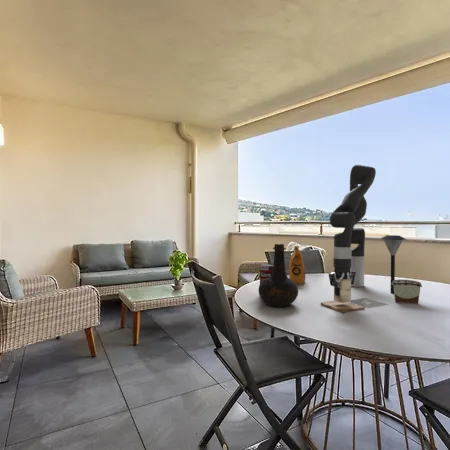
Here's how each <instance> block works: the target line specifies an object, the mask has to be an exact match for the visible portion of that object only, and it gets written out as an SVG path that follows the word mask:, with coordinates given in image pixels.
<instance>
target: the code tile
mask: <svg viewBox="0 0 450 450" xmlns="http://www.w3.org/2000/svg"><path fill="white" fill-rule="evenodd" d="M350 303H353V304H356V305H359V306H362V307H365V308H367V309H371V308H377V307H382V306H383V307H385V306H389V304H388V303H386V302H380V301H378V300H374V299H372V298H367V297H364V298H362V297H361V298H356V299H351V302H350Z"/></svg>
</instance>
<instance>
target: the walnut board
mask: <svg viewBox="0 0 450 450" xmlns="http://www.w3.org/2000/svg"><path fill="white" fill-rule="evenodd" d="M320 306H323V307H325V308H328V309H331V310H332V311H333V310H334V311H336V312H338V313H342V314H346V313H350V312H356V311H357V312H358V311H362V310H365V308H366V307H363V306H359V305H356V304H353V303H350V302H345V303H341V302H338V301H335V300H329V301H324V302H320Z"/></svg>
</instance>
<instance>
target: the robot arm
mask: <svg viewBox="0 0 450 450" xmlns="http://www.w3.org/2000/svg"><path fill="white" fill-rule="evenodd" d="M376 173H377V171H376V168H375V167H374V166H367V165H361V164H355V165H353V166H352V167H351V170H350V174H349V191H348V193H346V195H345V196H344V197H343V199H342V202H341V203H340V204H339V205H338V207H336V208H335V209H334V210H333V212H332V213H331V214H330V217H329V224H330V225H331V227H333V228H336V229H339V228H340V229H341V228H342V229H343V231H342V232H339V233H335V234H334V236H333V252H332V253H333V254H332V255H333V260H332V261H333V264H332V265H333V268H334V270H333V272H329V273H328V278H329V283H330V286H331V287H333V289H334V288H335V292H334V291H333V294H334V293H335V295H336V296H340V288H339V287H340V283H341V280H343V279H351V287H355V288H357V287H358V288H359V287H361V288H362V287H364V286H365V244H366V243H365V241H366V231H365V229H364V228H363V227H355V226H356V225H357V224H358V223H359V222H360V221H361V220H362V219H363V218H365V215H366V213H367V209H368V208H367V206H368V203H367V199H366V198H365V195H366V193H367V192H368V191H369V189H370V188H371V187H372V185H373V184H374V181H375V178H376ZM352 245H357V246H356V247H354V248H352ZM336 278H337V279H339V280H336ZM337 282H338V284H337Z"/></svg>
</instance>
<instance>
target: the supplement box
mask: <svg viewBox="0 0 450 450" xmlns="http://www.w3.org/2000/svg"><path fill="white" fill-rule="evenodd" d="M272 270H273V264H264V263H261V264H260V265H259V284H260V283H261V282H262V281H263V280H265V279H267V278H269V277H270V276H271V274H272Z"/></svg>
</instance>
